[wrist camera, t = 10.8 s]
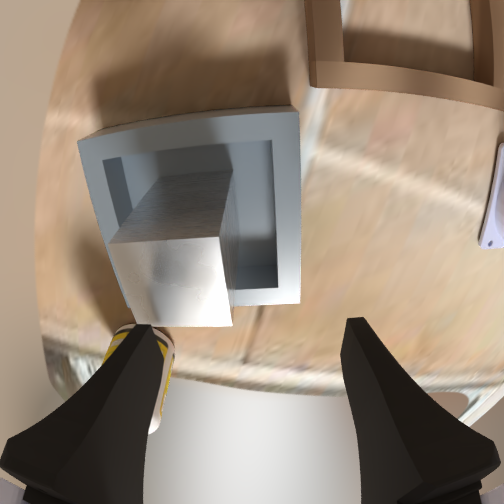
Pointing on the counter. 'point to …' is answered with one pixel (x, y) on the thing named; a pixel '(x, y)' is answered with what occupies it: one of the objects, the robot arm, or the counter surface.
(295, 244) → the tray
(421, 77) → the brown flat square frame
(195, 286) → the brushed metal top block
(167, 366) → the supplement bottle
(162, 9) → the counter surface
